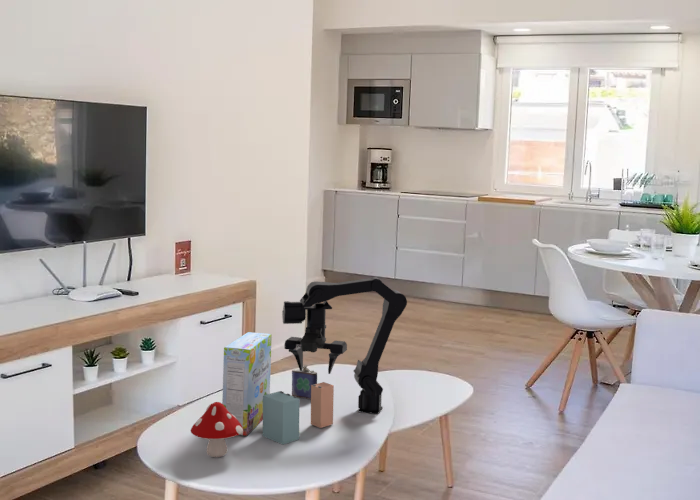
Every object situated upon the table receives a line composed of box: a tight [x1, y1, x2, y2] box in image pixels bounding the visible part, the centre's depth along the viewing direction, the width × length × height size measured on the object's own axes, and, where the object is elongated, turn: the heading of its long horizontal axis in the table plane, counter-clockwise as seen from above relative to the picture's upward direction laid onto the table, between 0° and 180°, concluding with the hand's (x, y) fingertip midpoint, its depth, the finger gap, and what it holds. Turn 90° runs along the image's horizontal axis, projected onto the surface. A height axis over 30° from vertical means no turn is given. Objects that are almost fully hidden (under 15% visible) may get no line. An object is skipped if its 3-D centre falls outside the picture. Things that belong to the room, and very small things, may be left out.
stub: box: [310, 381, 335, 429], centre depth 243 cm, size 5×4×12 cm
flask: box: [291, 364, 318, 400], centre depth 270 cm, size 9×3×11 cm, turn 65°
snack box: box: [221, 331, 272, 437], centre depth 243 cm, size 22×9×26 cm, turn 168°
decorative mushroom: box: [190, 401, 243, 458], centre depth 218 cm, size 14×14×15 cm
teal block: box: [262, 390, 301, 446], centre depth 232 cm, size 6×9×12 cm, turn 45°
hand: (315, 372), depth 254 cm, fingers open, 9 cm apart
